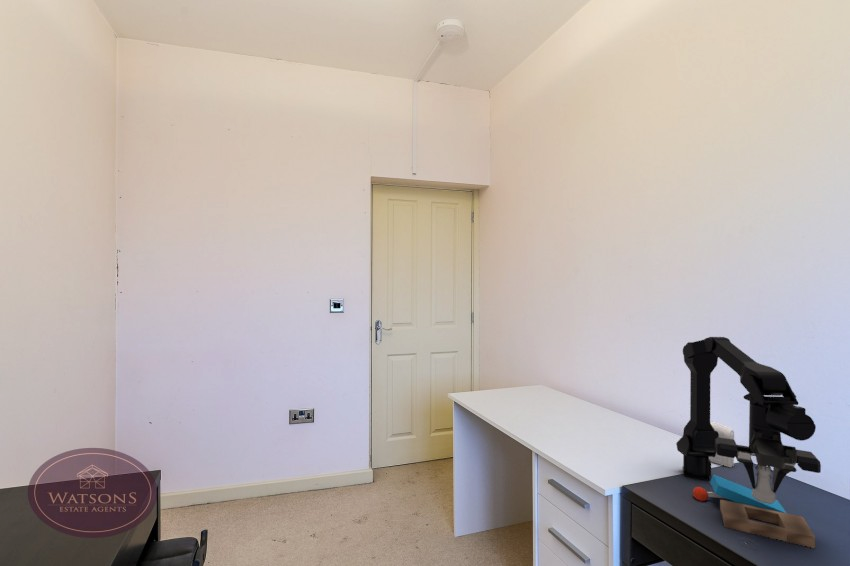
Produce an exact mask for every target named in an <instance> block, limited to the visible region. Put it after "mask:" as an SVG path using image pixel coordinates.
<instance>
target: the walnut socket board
mask: <svg viewBox="0 0 850 566" xmlns="http://www.w3.org/2000/svg"><path fill="white" fill-rule="evenodd" d="M719 511H720V514H721V518H722V523H723V526H724V528H727V529H729V530H730V529H732V530H736V531H740V532H744V533H747V534H752V535H755V534H757V535H756V536H760V535H762V536H761V537H764V536H765V538H768V537H769V539H773V540H776V539H778V540H777V541H780V540H783V541H782V542H785V541H786V542H785V543H789V542H790V544H793V543H794V545H797V544H798V546H801V545H802V547H805V546H807V548H810V547H811V549H814V548H815V549H816V536H815V535H814V533H813V531H812V529H811V528H810V527H809V524H808V523H807V522H806V520H805V518H804V517H803V516H800V515H797V514H792V513H791V514H790V513H787V512H786V513H782V512H778V511H773V510H768V509H764V508H759V507H754V506H750V505H745V504H740V503H736V502H734V501H731V500H726V499H723V498H721V499H720V498H719ZM757 520H758V521H757ZM762 521H763V522H762ZM765 522H767V523H765ZM774 524H776V525H774Z"/></svg>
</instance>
